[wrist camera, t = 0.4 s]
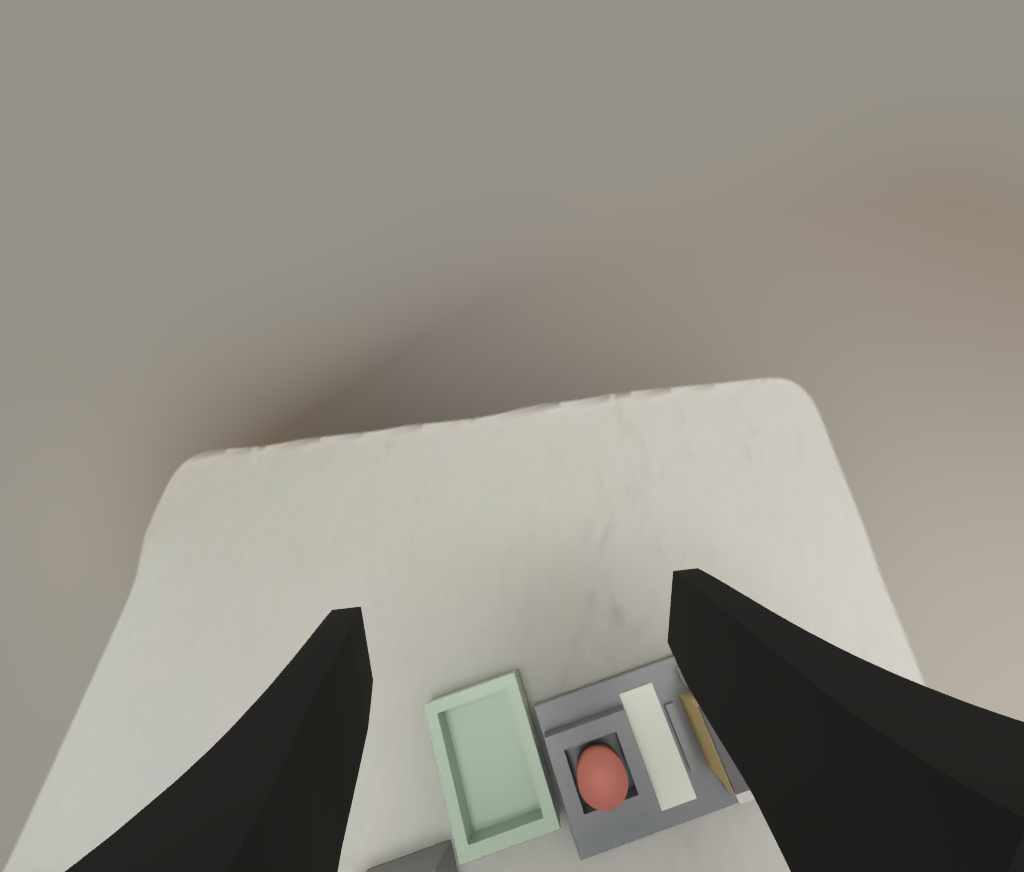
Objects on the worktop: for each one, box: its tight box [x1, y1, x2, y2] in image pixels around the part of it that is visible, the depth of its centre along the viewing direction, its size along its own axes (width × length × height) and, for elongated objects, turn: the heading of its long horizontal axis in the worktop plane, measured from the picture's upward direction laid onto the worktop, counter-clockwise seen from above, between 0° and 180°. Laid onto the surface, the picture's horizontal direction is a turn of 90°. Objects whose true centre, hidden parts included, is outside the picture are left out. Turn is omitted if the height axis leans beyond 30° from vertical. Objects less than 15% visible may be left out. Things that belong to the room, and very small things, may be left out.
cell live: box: [678, 690, 750, 795], centre depth 30 cm, size 4×4×6 cm
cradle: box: [534, 655, 755, 860], centre depth 32 cm, size 15×9×4 cm, turn 108°
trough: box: [423, 669, 560, 865], centre depth 33 cm, size 9×7×3 cm
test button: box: [577, 743, 628, 811], centre depth 30 cm, size 3×3×2 cm
